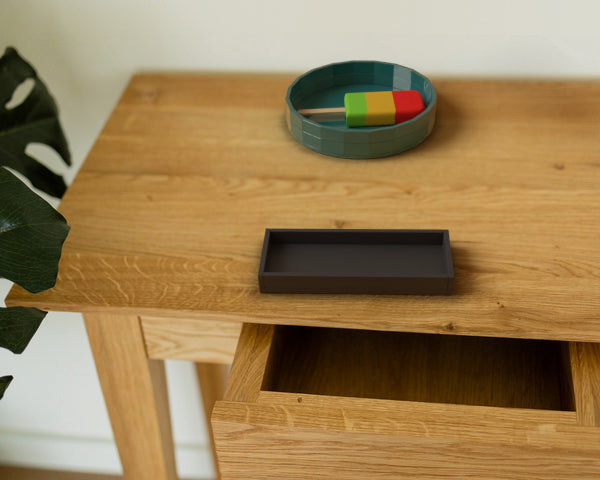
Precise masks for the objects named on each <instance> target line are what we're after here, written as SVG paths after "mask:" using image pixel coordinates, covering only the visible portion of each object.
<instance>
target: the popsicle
mask: <svg viewBox="0 0 600 480" xmlns="http://www.w3.org/2000/svg"><path fill="white" fill-rule="evenodd" d="M344 104H345V108H324V109H303V110H298V113H300V114H301V115H322V114H343V113H346V121H347V126H348V127H358V126H380V125H397V124H400V123H403V122H406V121H409V120H411V119H413V118H415V117H416V116H418V115H419V114H421V113H422V112H423V111H425V106H424V103H423V99H422V96H421V94H420V93H419V92H418V91H413V90H405V91H384V92H363V93H347V94H345V98H344Z"/></svg>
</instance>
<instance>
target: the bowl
mask: <svg viewBox="0 0 600 480" xmlns="http://www.w3.org/2000/svg"><path fill="white" fill-rule="evenodd" d="M405 90H413V91H418V92H419V93H420V94H421V96H422V99H423V103H424V106H425V111H423V112H422V113H421V114H419V115H418V116H416V117H415V118H413V119H411V120H409V121H406V122H403V123H400V124H397V125H380V126H358V127H348V126H347V121H346V113H343V114H322V115H301V114H300V113H298V110H303V109H324V108H345V104H344V98H345V94H347V93H363V92H384V91H405ZM284 101H285V102H284V104H285V120H286V123H287V128H288V131H289V133H290V135H291V136H292V138H294V140H295V141H297V142H298V143H299V144H300V145H302V146H303V147H305V148H306V149H308V150H311V151H313V152H315V153H318V154H321V155H325V156H328V157H334V158H340V159H349V160H371V159H380V158H386V157H390V156H394V155H395V156H396V155H398V154H401V153H404V152H407V151H408V150H409V151H410V150H411V149H413V148H415V147H416V146H419V145H420V144H421V143H422V142H423V141H425V140H426V139H427V138H428V137H429V136H430V134H431V133H432V131H433V128H434V126H435V123H436V111H437V89H436V87H435V85H434V83H432V81H431V80H430V79H429V77H427V76H425V75H424V74H422V73H421V72H419V71H418V70H416V69H413V68H411V67H408V66H404V65H402V64H399V63H395V62H388V61H382V60H381V61H380V60H370V59H369V60H368V59H367V60H364V59H361V60H355V59H353V60H345V61H338V62H331V63H327V64H325V65H320V66H318V67H314V68H312V69H310V70H308V71H306V72H305V73H302V74H301V75H299V76H297V77H296V78H295V79H294V80H293V81H292V82H291V83H290V85H288V87H287V88H286V94H285V98H284Z"/></svg>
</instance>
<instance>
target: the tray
mask: <svg viewBox="0 0 600 480" xmlns="http://www.w3.org/2000/svg"><path fill="white" fill-rule="evenodd" d="M451 245H452V244H451V239H450V230H449V229H448V228H447V229H437V228H436V229H435V228H434V229H433V228H431V229H430V228H427V229H426V228H425V229H424V228H422V229H421V228H287V227H285V228H276V227H275V228H274V227H272V228H270V227H268V228H266V227H265V230H264V237H263V242H262V248H261V254H260V258H259V259H260V260H259V266H258V271H257V282H258V291H259V293H260V294H261V293H262V294H263V293H264V294H332V295H333V294H336V295H337V294H339V295H346V294H347V295H413V296H416V295H417V296H421V295H422V296H453V294H454V293H453V292H454V285H455V271H454V262H453V255H452V247H451Z"/></svg>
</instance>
